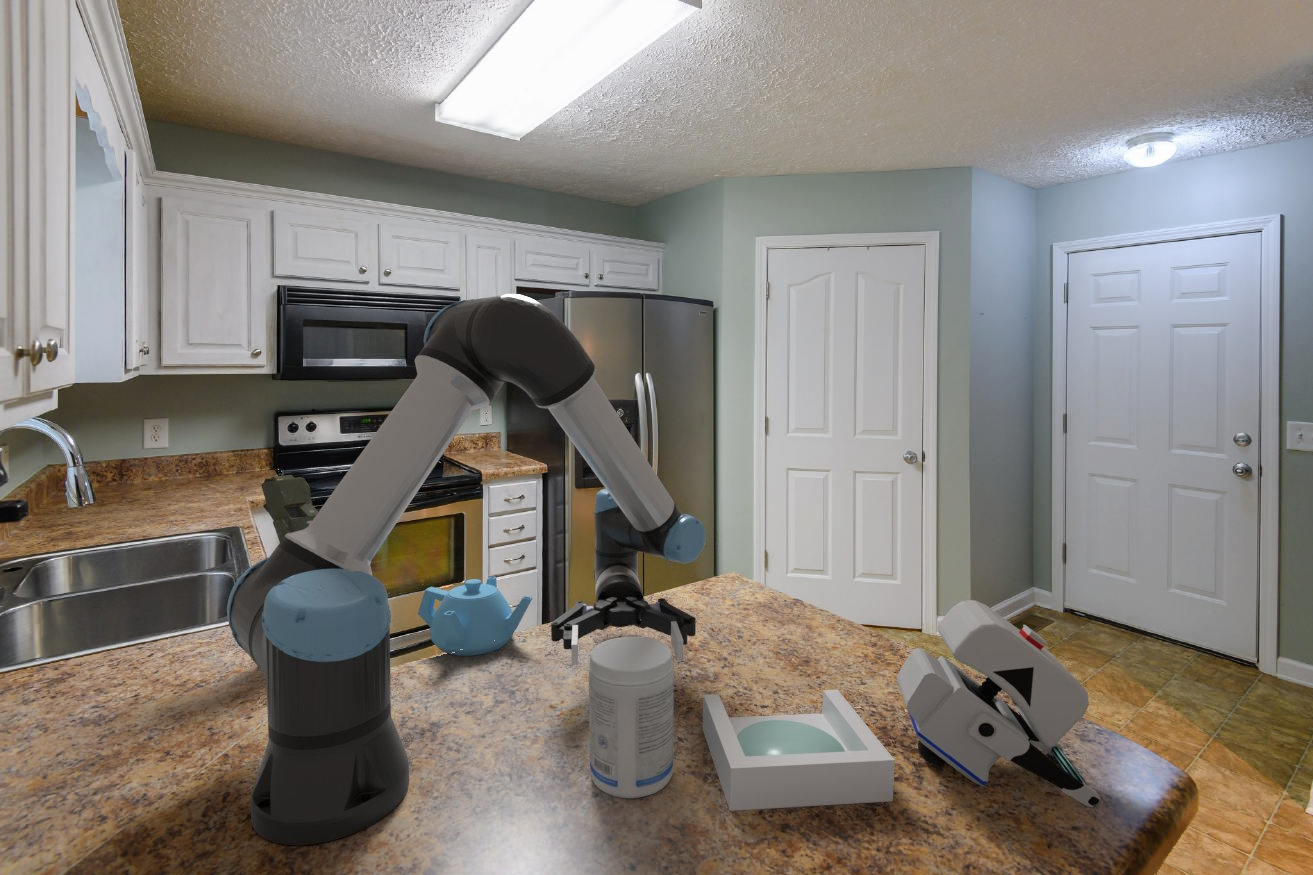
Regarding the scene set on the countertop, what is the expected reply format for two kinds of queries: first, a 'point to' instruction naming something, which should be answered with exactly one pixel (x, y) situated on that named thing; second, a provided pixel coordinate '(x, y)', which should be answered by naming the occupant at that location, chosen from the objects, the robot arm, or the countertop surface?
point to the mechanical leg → (288, 504)
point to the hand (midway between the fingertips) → (627, 652)
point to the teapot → (471, 617)
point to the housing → (797, 757)
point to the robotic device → (994, 701)
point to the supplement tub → (631, 716)
